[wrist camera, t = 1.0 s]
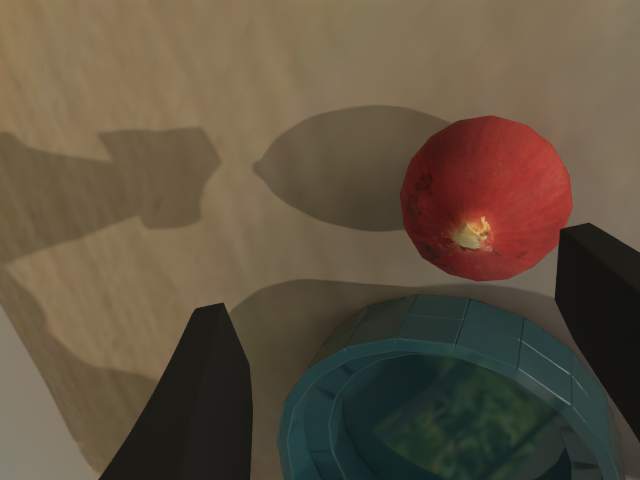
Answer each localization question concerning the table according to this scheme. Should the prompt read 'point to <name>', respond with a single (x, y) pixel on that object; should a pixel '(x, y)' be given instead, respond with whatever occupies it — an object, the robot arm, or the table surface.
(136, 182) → the table surface
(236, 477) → the robot arm
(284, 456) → the teal bowl
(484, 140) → the onion
